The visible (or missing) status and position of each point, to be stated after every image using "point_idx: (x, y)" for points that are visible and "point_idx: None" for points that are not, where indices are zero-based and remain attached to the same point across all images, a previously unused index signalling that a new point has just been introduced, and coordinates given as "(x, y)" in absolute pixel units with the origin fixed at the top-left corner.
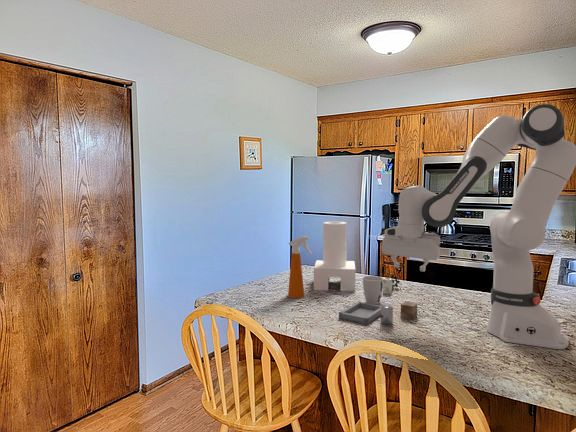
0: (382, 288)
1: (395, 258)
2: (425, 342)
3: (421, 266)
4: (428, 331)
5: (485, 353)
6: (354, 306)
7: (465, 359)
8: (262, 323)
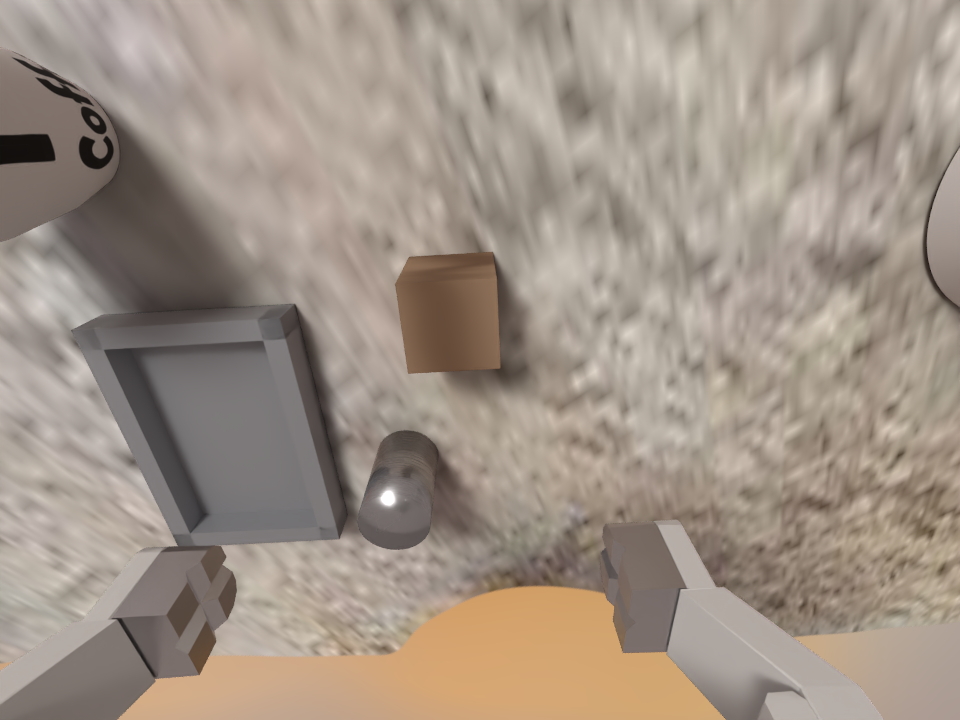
0: (14, 102)
1: (2, 714)
2: None
3: (651, 648)
4: (618, 431)
5: (862, 504)
6: (140, 422)
7: (784, 575)
8: None
